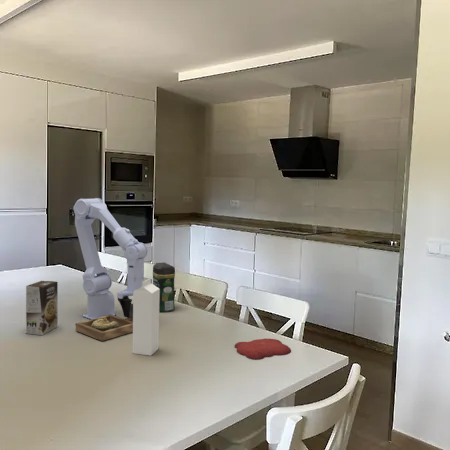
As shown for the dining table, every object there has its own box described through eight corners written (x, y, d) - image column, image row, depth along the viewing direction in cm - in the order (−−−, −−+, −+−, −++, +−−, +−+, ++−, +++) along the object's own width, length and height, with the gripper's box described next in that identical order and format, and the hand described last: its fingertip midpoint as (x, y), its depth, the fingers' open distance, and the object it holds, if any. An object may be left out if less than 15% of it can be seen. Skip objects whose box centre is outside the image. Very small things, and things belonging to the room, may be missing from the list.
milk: (132, 353, 140) (132, 281, 137) (140, 346, 145) (141, 276, 143) (151, 356, 138) (151, 282, 136) (159, 348, 144) (159, 278, 142)
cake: (105, 340, 152) (104, 324, 151) (83, 335, 157) (82, 319, 156) (126, 330, 160) (125, 315, 159) (105, 325, 165) (103, 310, 164)
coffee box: (43, 335, 152) (42, 287, 151) (25, 333, 153) (25, 285, 152) (58, 327, 161) (58, 281, 159) (41, 325, 162) (41, 279, 161)
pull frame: (123, 317, 173) (124, 301, 172) (150, 326, 164) (150, 309, 163) (75, 330, 157) (75, 312, 157) (102, 341, 148) (102, 321, 148)
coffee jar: (149, 307, 189) (150, 261, 187) (167, 305, 193) (168, 260, 191) (157, 313, 181) (158, 266, 179) (176, 311, 185) (177, 264, 183)
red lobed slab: (249, 363, 136) (249, 356, 136) (227, 347, 149) (227, 341, 149) (298, 354, 144) (298, 348, 144) (273, 340, 157) (274, 334, 156)
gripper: (126, 282, 158) (126, 321, 160) (158, 276, 169) (157, 312, 171) (113, 278, 163) (113, 317, 164) (145, 273, 174) (144, 308, 175)
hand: (135, 314), depth 168 cm, fingers open, 7 cm apart
